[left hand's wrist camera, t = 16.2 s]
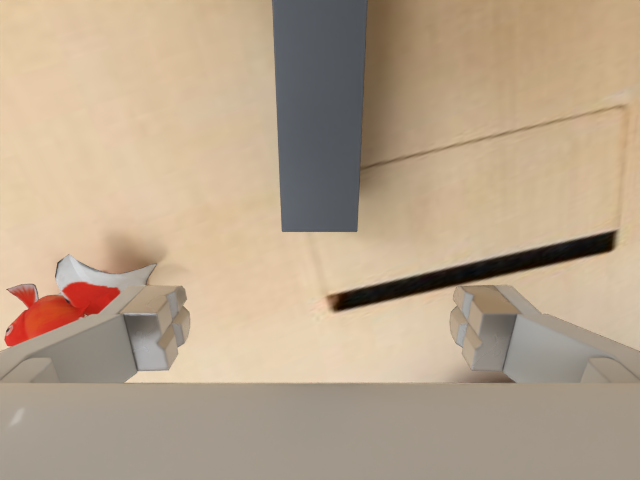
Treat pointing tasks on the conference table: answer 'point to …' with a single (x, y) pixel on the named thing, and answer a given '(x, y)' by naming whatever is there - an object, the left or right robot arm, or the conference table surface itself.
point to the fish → (69, 298)
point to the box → (319, 111)
